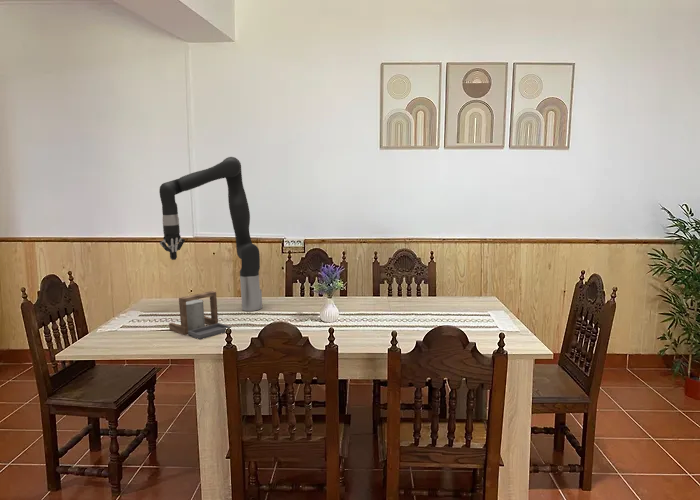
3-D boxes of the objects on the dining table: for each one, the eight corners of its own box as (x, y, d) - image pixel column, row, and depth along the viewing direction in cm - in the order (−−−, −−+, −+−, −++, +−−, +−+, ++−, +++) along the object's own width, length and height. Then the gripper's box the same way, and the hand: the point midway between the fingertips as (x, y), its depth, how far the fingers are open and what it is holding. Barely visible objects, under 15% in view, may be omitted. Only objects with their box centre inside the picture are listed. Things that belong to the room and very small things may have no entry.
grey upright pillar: (183, 332, 275) (180, 305, 273) (183, 326, 284) (181, 300, 282) (205, 330, 277) (203, 303, 275) (204, 324, 286) (203, 298, 284)
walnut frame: (202, 321, 292) (199, 288, 289) (218, 326, 283) (216, 291, 280) (169, 329, 280) (166, 294, 277) (185, 335, 271) (182, 299, 268)
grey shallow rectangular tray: (219, 327, 282) (219, 322, 281) (231, 330, 275) (230, 326, 275) (188, 335, 270) (187, 331, 270) (199, 339, 264) (199, 335, 264)
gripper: (162, 225, 293) (165, 262, 296) (187, 222, 302) (189, 258, 305) (154, 224, 298) (157, 260, 301) (179, 222, 307) (181, 256, 310)
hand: (173, 259), depth 303 cm, fingers closed
